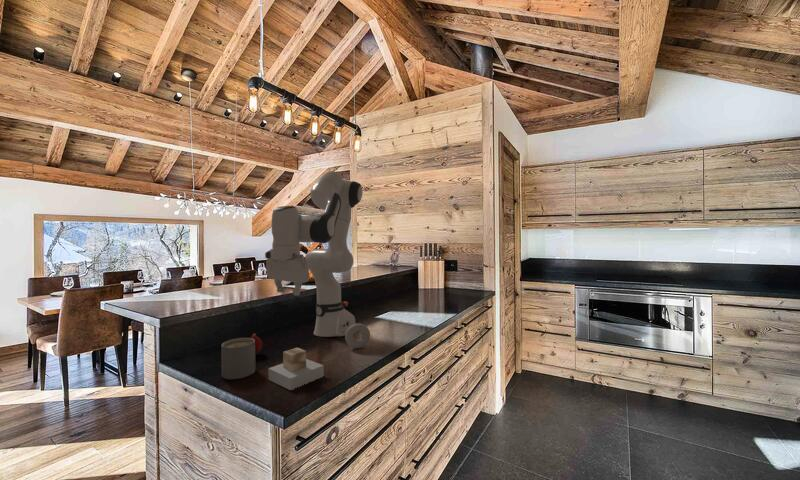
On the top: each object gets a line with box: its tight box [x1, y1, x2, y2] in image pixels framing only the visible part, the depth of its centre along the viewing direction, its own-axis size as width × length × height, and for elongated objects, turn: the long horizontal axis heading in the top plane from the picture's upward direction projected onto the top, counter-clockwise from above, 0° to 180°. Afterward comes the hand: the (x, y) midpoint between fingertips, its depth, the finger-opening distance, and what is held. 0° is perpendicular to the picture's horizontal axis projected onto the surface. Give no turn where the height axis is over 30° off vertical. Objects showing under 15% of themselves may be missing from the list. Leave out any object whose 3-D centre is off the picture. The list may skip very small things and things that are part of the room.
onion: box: [250, 333, 263, 356], centre depth 123 cm, size 6×6×8 cm
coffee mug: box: [220, 337, 256, 380], centre depth 109 cm, size 13×10×10 cm
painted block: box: [267, 358, 325, 391], centre depth 103 cm, size 12×12×4 cm
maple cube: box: [282, 347, 307, 372], centre depth 102 cm, size 5×5×5 cm
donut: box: [344, 322, 371, 349], centre depth 129 cm, size 10×4×10 cm, turn 102°
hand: (288, 293), depth 111 cm, fingers open, 8 cm apart
